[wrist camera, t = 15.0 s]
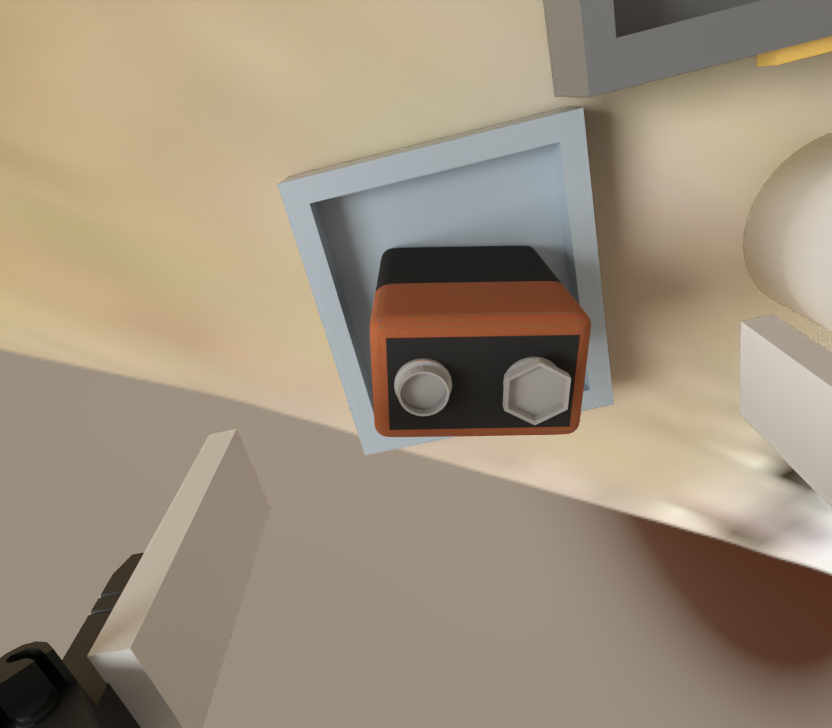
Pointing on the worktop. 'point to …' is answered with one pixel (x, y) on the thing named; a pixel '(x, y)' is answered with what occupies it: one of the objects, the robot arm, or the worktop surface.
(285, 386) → the worktop surface
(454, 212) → the tray
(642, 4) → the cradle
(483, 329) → the battery
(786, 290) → the white rounded cylinder
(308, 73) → the worktop surface
